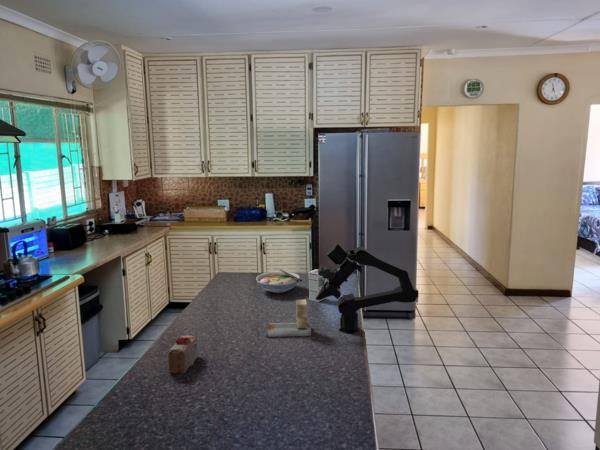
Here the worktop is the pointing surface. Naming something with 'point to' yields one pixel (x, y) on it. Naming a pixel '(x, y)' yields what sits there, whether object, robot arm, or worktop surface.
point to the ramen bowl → (278, 281)
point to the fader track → (286, 330)
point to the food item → (183, 354)
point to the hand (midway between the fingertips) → (316, 299)
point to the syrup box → (315, 285)
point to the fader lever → (301, 314)
